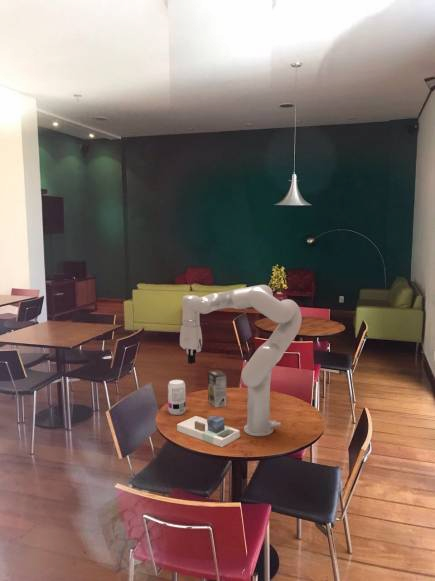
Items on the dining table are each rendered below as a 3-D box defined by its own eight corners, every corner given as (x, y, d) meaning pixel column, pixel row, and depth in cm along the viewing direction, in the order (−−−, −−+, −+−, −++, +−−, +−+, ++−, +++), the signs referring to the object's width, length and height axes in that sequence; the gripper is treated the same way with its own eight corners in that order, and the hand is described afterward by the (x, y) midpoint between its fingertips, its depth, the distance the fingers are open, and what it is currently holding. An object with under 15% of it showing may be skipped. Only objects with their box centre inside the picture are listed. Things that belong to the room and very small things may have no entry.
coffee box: (207, 401, 238) (207, 371, 236) (219, 399, 241) (218, 369, 239) (215, 407, 230) (214, 375, 228) (226, 405, 232) (226, 374, 230)
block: (224, 429, 197) (224, 418, 196) (216, 433, 193) (216, 421, 193) (215, 426, 200) (215, 415, 200) (207, 430, 197) (207, 418, 196)
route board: (239, 437, 197) (239, 423, 196) (221, 447, 187) (221, 433, 187) (195, 422, 212) (195, 409, 212) (177, 430, 203) (176, 417, 203)
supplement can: (165, 413, 223) (164, 383, 221) (174, 407, 230) (174, 378, 228) (179, 416, 219) (179, 385, 217) (188, 410, 226) (188, 380, 224)
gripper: (173, 322, 211) (174, 362, 213) (197, 326, 201) (198, 367, 203) (184, 319, 216) (185, 358, 219) (209, 323, 207) (209, 364, 209)
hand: (191, 362), depth 211 cm, fingers closed
